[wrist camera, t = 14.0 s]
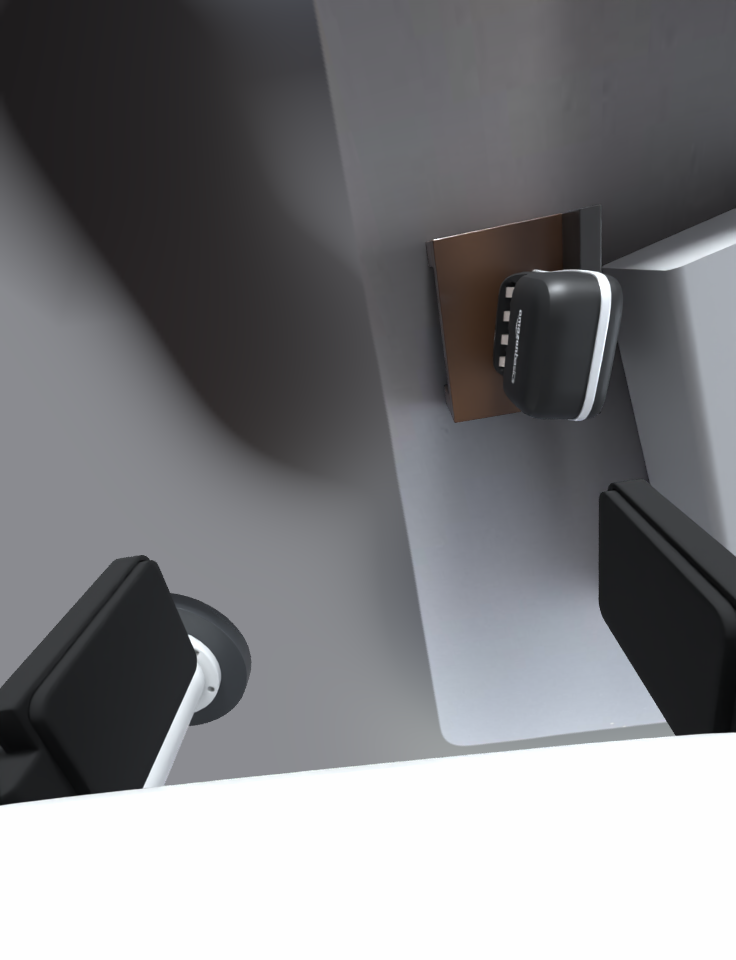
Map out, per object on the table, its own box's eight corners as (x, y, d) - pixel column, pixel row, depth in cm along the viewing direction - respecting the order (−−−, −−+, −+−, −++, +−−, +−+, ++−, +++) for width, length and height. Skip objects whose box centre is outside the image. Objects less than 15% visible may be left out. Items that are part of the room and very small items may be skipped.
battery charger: (488, 268, 31) (541, 272, 20) (549, 267, 31) (634, 271, 20) (478, 378, 34) (522, 432, 23) (535, 378, 34) (603, 432, 23)
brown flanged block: (446, 404, 40) (460, 437, 32) (425, 242, 35) (437, 238, 28) (559, 384, 39) (601, 413, 31) (554, 215, 34) (602, 203, 27)
